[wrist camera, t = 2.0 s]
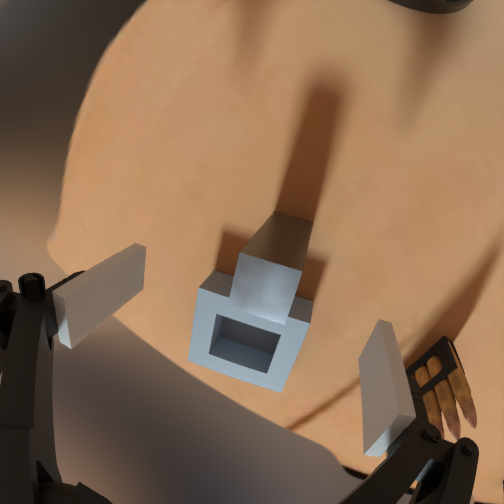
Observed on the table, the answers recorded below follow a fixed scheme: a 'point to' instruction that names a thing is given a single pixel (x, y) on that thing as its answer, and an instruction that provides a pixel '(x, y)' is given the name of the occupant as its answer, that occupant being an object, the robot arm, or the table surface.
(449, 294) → the table surface
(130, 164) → the table surface
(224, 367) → the slot block
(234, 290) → the steel pin
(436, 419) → the ammunition clip
